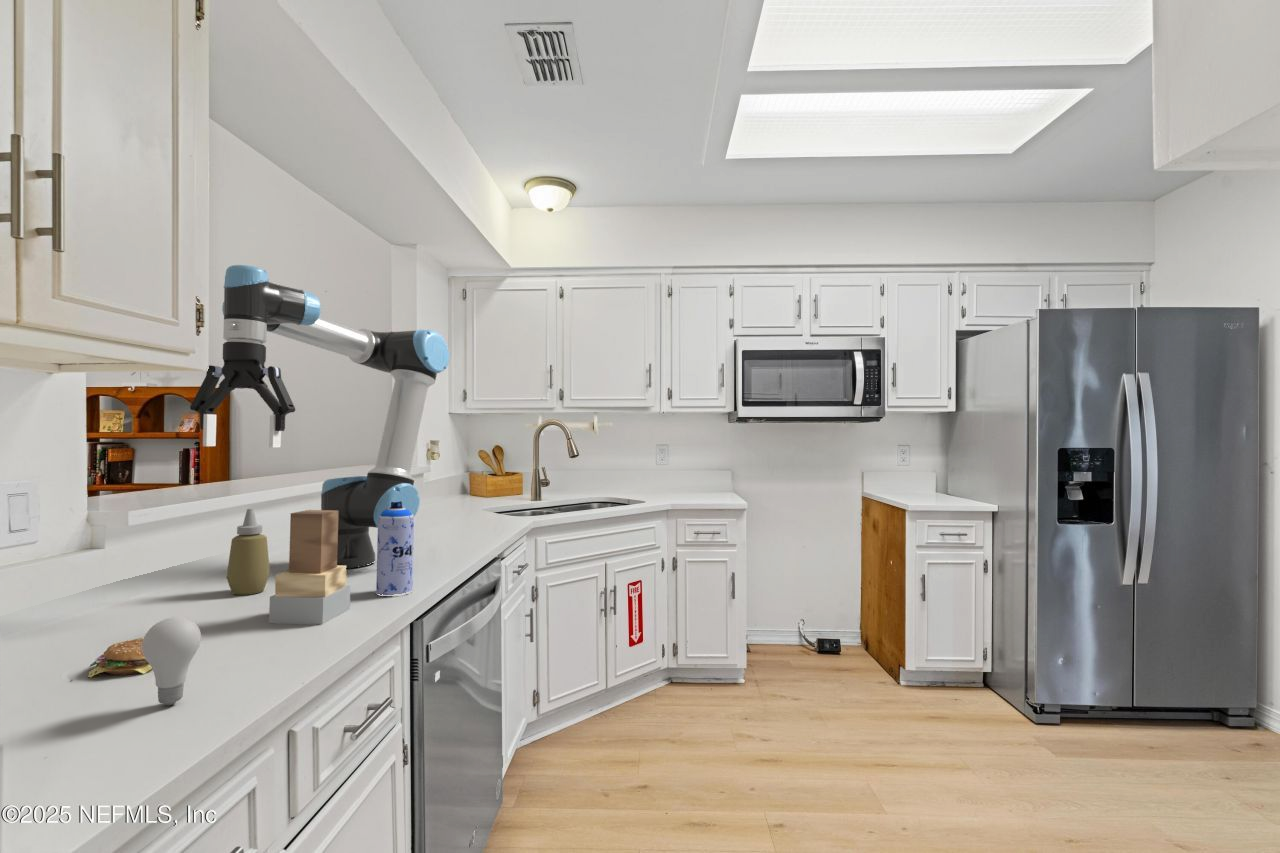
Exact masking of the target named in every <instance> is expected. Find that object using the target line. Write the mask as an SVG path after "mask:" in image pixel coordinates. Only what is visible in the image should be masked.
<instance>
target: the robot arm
mask: <svg viewBox="0 0 1280 853" xmlns="http://www.w3.org/2000/svg"><path fill="white" fill-rule="evenodd" d="M269 280H270V279H269V274H268V271H267V270H265V269H263V268H260V267H258V266H253V265H245V264H234V265H230V266H229V267H227V268H226V270H225V275H224V283H223V290H224V292H223V293H224V294H223V295H224V296H223V303H222V309H221V310H222V315H223V333H222V334H223V335H222V336H223V337H222V339H224V343H222V360H223V366H222V367H221V366H217V365H212V364H211V365H208V366H209V369H208V371H207V370H206V373H205V374H206V375H205V377H204V379H203V381H202V383H201V385H200V387H199V389H198V391H197V392H196V394H195V397H194V399H193V400H192V401H191V402H192V403H191V405H190V406H189V409H190V411H194V412H197V413H198V414H199V429H200V430H202V447H217V446H216V445H217V444H216V443H217V414H215V411H216V409H217V408H218V407H219V406H220V405H221V404H222V402H223V401H224V400H225V399H226V398H227V396H229V395H230V393H231V392H232V391H234V390H236V389H242V390H243V389H250V390H251V389H253V390H254V391H256V392H257V394H258V396H260V398H261V399H262V400H263V401H264V402H265V404H266V405H267V406H268V407H269V409H270V410H271V411H272V412H273V413H272V414H270V415H269V434H268V435H269V438H268V439H269V440H268V447H269V448H281V447H282V444H281V443H282V432H284V431H285V429H286V417H287V415H288V414H290V413H294V412H295V411H296V406H295V405H294V403H293V401H292V399H291V396H290V394H289V392H288V390H287V388H286V386H285V382H284V381H283V378H282V372H281V368H280V367H277V366H271V365H270V366H268V367H265V364H266V359H267V347H266V346H265V343H267V333H268V332H269V333H272V334H276V335H278V336H281V337H285V338H288V339H291V340H295V341H297V342H301V343H304V344H306V345H310V346H314V347H317V348H321V349H322V350H326V351H329V352H333V353H335V354H339V355H343V356H345V357H348V358H349V359H350V361H351V362H353V363H356V364H358V365H361V366H365V367H367V368H370V369H374V370H378V371H381V372H384V373H389V374H390V375H391V377H392V378H393V379H394V384H393V388H392V392H391V396H390V401H389V405H388V411H387V414H386V419H385V424H384V427H383V432H382V437H381V439H380V440H381V441H380V445H379V449H378V450H379V451H378V453H377V454H378V455H377V458H376V462H375V466H374V468H372V469H370V470H369V471H367V474H366V475H355V476H346V477H337V478H336V477H335V478H329V479H327V480H324V482H323V483H322V487H321V488H322V489H321V494H320V499H321V500H320V504H321V505H320V507H321V508H320V510H336V511H339V512H338V547H337V565H346V568H349V569H354V568H353V567H358V566H363V565H367V564H370V563H372V562H374V561H375V562H376V553H375V550H374V546H373V543H372V540H371V537H370V533H369V532H370V528H377V529H378V518H379V515H381V513H382V512H383V511H384V510H386V509H388V508H390V507H391V502H400V501H402V507H404V508H405V509H408V510H409V511H410V512H411V514H413V517H414V518H415V516H416V515H417V513H418V511H419V509H420V508H419V507H420V503H421V502H420V500H421V499H420V495H419V491H418V489H417V487H415V486H414V484H415V479H414V477H413V476H412V475H411V469H412V463H413V460H414V459H413V458H414V456H415V455H414V453H415V450H416V445H417V441H418V436H419V432H420V427H421V422H422V416H423V412H424V407H425V402H426V399H427V393H428V388H430V387H431V386H433V385H434V384H435V383H436V378H437V374H440V373H442V372H444V371H445V370H446V369H447V368H448V365H449V362H450V351H449V348H448V345H447V344H446V343H447V342H446V341H445V339H444V337H443V336H442V335H441V334H440V333H439V332H437V331H435V330H431V329H422V328H421V329H416V330H404V331H385V332H384V331H383V332H382V331H381V332H380V331H373V330H369V329H367V328H360V329H355V328H353V327H350V326H347V325H344V324H342V323H340V322H337V321H333V320H331V319H329V318H325V317H323V316H321V312H322V311H321V309H322V308H321V306H322V304H321V302H320V300H319V298H318V296H317V295H315V294H314V293H311V292H308V291H305V290H304V289H298V288H293V287H289V286H284V285H280V284H276V283H272V282H270V281H269ZM265 376H266V377H267V378H268V380H269V382H270V384H271V387H272V389H273V392H274V394H275V395H274V394H273V392H272V391H271V390H270V388H269V386H268V384H267V383H266V382H265V381H264V380H263V379H264V378H265ZM221 377H224V378H223V379H222V380H221V381H220V378H221ZM219 381H220V382H219ZM217 385H218V387H217ZM358 568H359V567H358Z"/></svg>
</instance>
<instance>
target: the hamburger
mask: <svg viewBox="0 0 1280 853" xmlns="http://www.w3.org/2000/svg"><path fill="white" fill-rule="evenodd" d="M143 639H144V637H141V638H140V637H139V638H136V639H131V640H125V641H118V642H116V643H113V644H112V645H110V646H108V648H107V649H106V650H105V651H104V652H103V653H102V654H101V655H99V656H97V657H96V658H95V661H94V662H92V663H91V664H90V665H89V666H88V667H93V666H95V667H94V668H93V669H91V670H90V671H89V672H88V676H87V678H88V677H90V678H92V677H94V676H96V675H99V674H100V673H104V672H105V673H107V674H108V673H109V675H113V674H118V675H117V676H122V675H123V674H126V675H133V674H138V673H140V674H144V675H145V674H146V673H148V672H149V671H150V670H151V671H152V670H153V669H152V667H151V666H150V664H149V663H148V662H147V660H146V658H145V657H144V655H143V652H142V642H143ZM123 676H124V675H123Z"/></svg>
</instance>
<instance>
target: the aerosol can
mask: <svg viewBox="0 0 1280 853" xmlns="http://www.w3.org/2000/svg"><path fill="white" fill-rule="evenodd" d="M414 527H415V517H413V514H411V512H410V511H409V510H408V509H405V508H404V507H402V501H400V502H391V507H390V508H388V509H386V510H384V511H383V512H382V513H381V515H379V518H378V528H377V544H376V545H377V546H376V547H377V553H376V584H375V586H376V587H375V588H376V590H375V593H376V594H380V595H382V594H383V595H394V594H402V593H406V592H409V591H411V590H412V588H413V586H414V585H413V582H414V580H413V577H414V576H413V574H414V542H415V541H414V538H415V537H414V536H415V534H414V532H415V531H414V530H415V528H414Z"/></svg>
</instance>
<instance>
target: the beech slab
mask: <svg viewBox="0 0 1280 853" xmlns="http://www.w3.org/2000/svg"><path fill="white" fill-rule="evenodd" d="M274 583H275V584H274V585H275V586H274V588H275V590H274V595H275V597H326V596H328V595H330V594H332V593H334V592H335V591H337V590H339V589H341V588H343V587H345V586H347V569H346V565H337V567H336V568H333V569H330V570H328V571H325V572H323V573H289V569H287V570H285V571H282V572H279V573H276V574H275V582H274Z"/></svg>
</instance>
